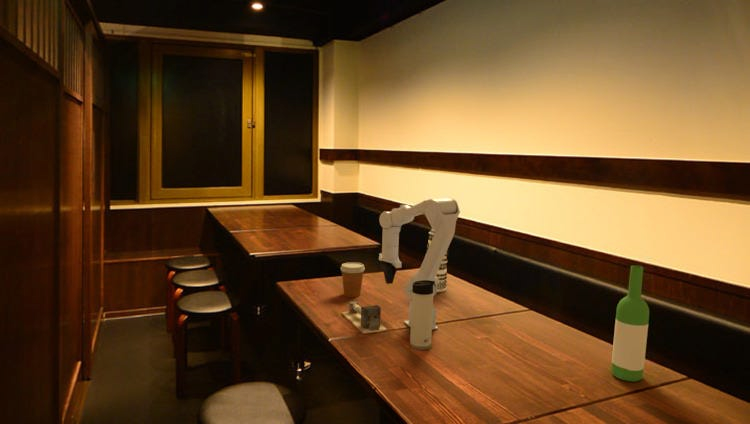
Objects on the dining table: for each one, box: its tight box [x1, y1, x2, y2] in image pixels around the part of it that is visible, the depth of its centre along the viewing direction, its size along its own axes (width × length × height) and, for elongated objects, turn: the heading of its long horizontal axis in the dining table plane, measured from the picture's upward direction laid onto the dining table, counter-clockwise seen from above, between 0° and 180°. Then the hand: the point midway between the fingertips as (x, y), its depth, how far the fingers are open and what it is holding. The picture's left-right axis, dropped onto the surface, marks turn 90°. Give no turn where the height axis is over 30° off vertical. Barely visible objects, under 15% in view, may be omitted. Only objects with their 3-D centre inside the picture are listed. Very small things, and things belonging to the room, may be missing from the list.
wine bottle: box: [610, 264, 650, 383], centre depth 139 cm, size 8×8×30 cm
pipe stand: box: [341, 300, 387, 334], centre depth 177 cm, size 20×8×4 cm, turn 23°
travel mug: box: [409, 280, 435, 351], centre depth 157 cm, size 6×7×20 cm
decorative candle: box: [426, 228, 450, 293], centre depth 217 cm, size 9×9×25 cm
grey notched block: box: [360, 304, 382, 328], centre depth 171 cm, size 3×6×6 cm, turn 113°
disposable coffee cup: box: [340, 262, 366, 298], centre depth 207 cm, size 10×10×12 cm
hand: (389, 283), depth 187 cm, fingers closed
